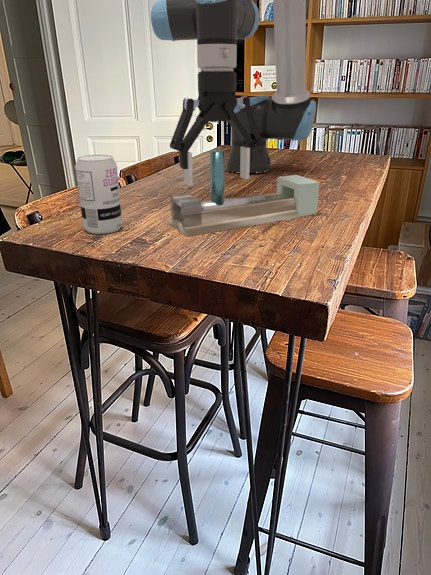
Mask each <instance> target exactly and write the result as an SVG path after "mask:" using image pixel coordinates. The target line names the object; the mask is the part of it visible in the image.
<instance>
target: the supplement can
mask: <svg viewBox="0 0 431 575" xmlns="http://www.w3.org/2000/svg"><path fill="white" fill-rule="evenodd" d="M117 165H118V164H117V162H116V161H115V159H114V158H113V155H110V154H86V155H82V156H77V158H76V163H75V165H74V166H75V168H74V169H75V175H76V183H77V190H78V197H79V206H80V211H81V212H80V213H81V219H82V220H81V221H82V227H83V229H84V230H86V232H88V233H90V234H94V235H105V234H106V235H107V234H112V233H115V232H118V231H119V230H120V229H121V228H122V226H123V224H124V223H123V217H122V216H123V215H122V204H121V203H122V202H121V197H120V196H121V195H120V185H119V176H118V166H117Z"/></svg>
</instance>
